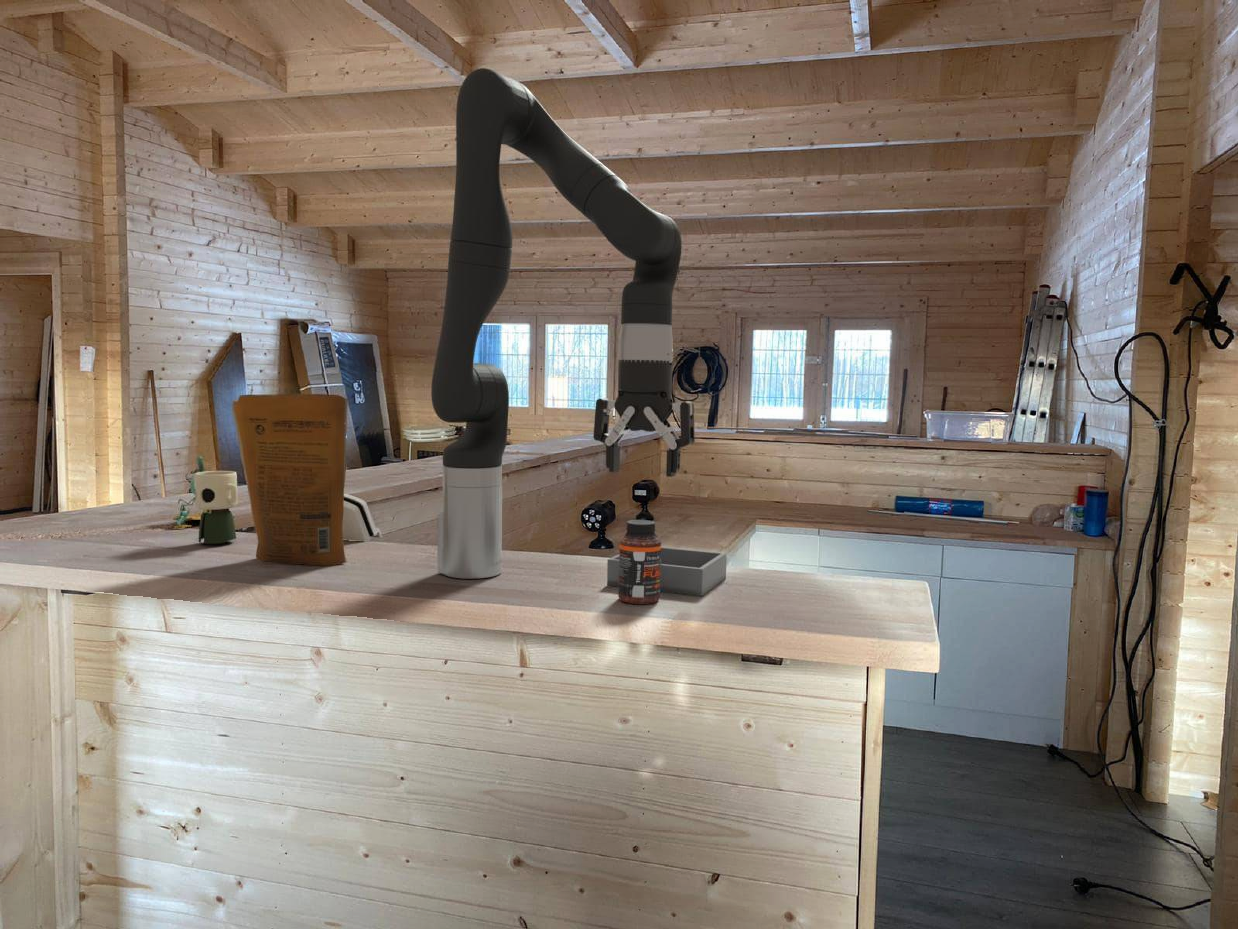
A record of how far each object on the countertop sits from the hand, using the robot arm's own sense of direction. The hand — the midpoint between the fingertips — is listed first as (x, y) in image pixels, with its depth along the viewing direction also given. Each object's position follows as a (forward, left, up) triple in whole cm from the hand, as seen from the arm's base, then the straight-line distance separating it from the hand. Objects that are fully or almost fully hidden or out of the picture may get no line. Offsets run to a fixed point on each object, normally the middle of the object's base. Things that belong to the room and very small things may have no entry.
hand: (642, 474), depth 124 cm
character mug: (-84, +4, -18) cm, 86 cm away
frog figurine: (-105, +19, -18) cm, 108 cm away
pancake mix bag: (-60, -2, -18) cm, 63 cm away
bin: (0, +12, -18) cm, 22 cm away
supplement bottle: (0, 0, -18) cm, 18 cm away
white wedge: (-70, +19, -18) cm, 75 cm away
